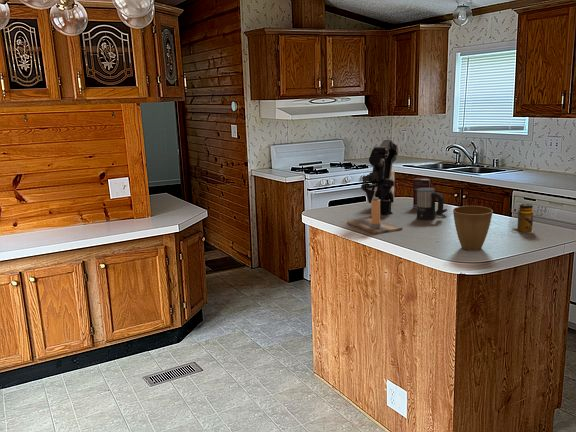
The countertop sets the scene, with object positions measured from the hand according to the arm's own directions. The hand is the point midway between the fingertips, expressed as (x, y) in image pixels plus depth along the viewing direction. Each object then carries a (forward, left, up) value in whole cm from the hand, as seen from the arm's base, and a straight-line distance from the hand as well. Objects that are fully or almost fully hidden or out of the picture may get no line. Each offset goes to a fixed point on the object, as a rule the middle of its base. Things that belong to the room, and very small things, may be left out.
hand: (375, 201), depth 263 cm
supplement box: (-39, -15, -11) cm, 43 cm away
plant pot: (-8, +58, -11) cm, 60 cm away
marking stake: (+7, +11, -9) cm, 16 cm away
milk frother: (-30, +5, -11) cm, 32 cm away
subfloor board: (+5, +6, -10) cm, 13 cm away
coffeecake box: (-26, -32, -11) cm, 42 cm away
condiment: (-45, +49, -11) cm, 67 cm away
